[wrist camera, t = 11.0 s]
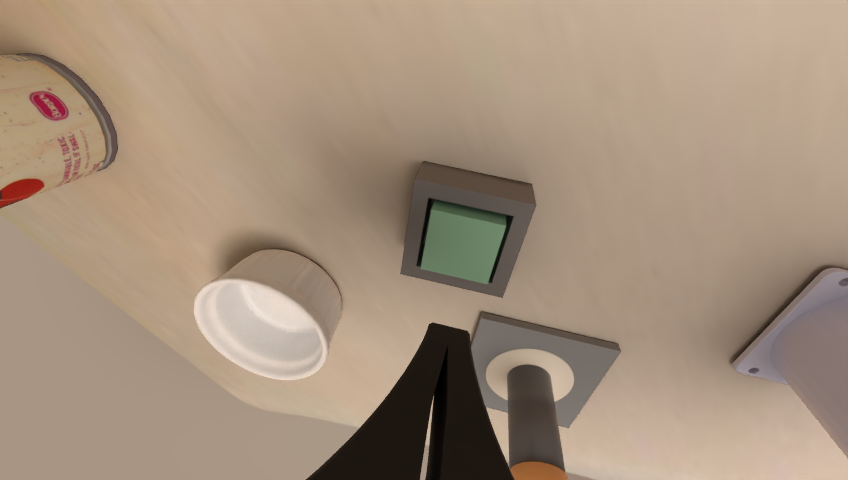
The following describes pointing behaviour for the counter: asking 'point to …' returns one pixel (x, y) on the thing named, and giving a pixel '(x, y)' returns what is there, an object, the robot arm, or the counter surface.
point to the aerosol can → (48, 127)
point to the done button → (462, 241)
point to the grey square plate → (539, 362)
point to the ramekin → (271, 314)
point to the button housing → (473, 193)
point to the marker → (533, 426)
